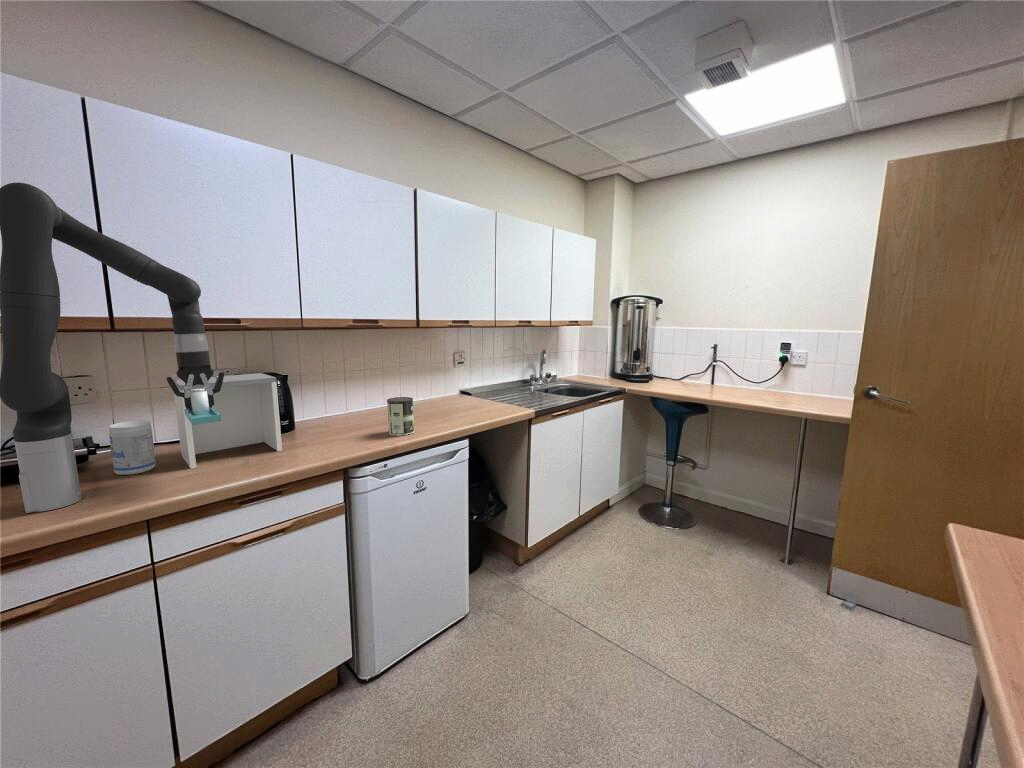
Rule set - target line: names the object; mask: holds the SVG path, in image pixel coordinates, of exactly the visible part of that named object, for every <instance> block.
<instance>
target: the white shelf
mask: <svg viewBox="0 0 1024 768" xmlns="http://www.w3.org/2000/svg"><path fill="white" fill-rule="evenodd" d="M208 382H209V384H210V386H211V389H213V388H214V387H215V383H216V378H215V377H214V376H211V378H210V379H209V381H208ZM277 383H278V382H277V376H276V377H275V376H272V375H269V374H265V373H262V372H259V373H245V374H244V373H243V374H234V375H232V374H231V375H230V374H229V375H224V379H223V382H222V386H221V390H220V392H217V393H215V394H214V395H213V398H214V406H212V407H213V408H214V409H215V410H216V411H217V412H218V413H219V414H220V415H221V421H218V422H212V423H205V424H198V425H192V424H191V423H190V421H189V420H188V418H187V417H186V415H185V411H184V409H186V407H185V402H184V398H183V397H178V396H176V395H175V393H174V392H173V395H174V396H173V397H174V406H175V412H176V420H177V428H178V430H177V431H178V435H179V438H178V439H179V444H180V445H179V446H180V453H181V457H182V458H183V460H184V461H185V463H186V465H188V468H190V469H194V468H195V469H196V468H197V460H196V455H199V454H205V453H210V452H214V451H215V452H216V451H220V450H221V451H222V450H227V449H231V448H232V449H233V448H237V447H243V446H244V447H245V446H250V445H254V444H260V443H265V444H266V445H268V446H269V447H271V448H272V449H274V450H276V451H277V452H280V451H283V442H282V433H281V432H282V431H281V430H282V429H281V420H280V410H279V409H280V407H279V406H280V405H279V396H278V385H277ZM175 384H176V386H177V387H178V389H179V391H180V392H183V393H184V386H185V382H183V381H182V380H181V379H180V378H177V382H176V383H175ZM192 389H204V390H205V388H204V386H203V385H195V386H192ZM249 444H250V445H249Z"/></svg>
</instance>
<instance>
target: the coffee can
mask: <svg viewBox="0 0 1024 768" xmlns="http://www.w3.org/2000/svg"><path fill="white" fill-rule="evenodd" d="M386 402H387V403H386V405H387V419H388V420H387V421H388V422H387V423H388V435H389V436H393V437H394V436H396V437H402V435H405V436H409V435H408V434H410V435H413V434H414V433H415V424H414V423H415V422H414V421H415V420H414V398H413V397H409V396H398V397H395V396H394V397H391V398H387V399H386ZM412 433H413V434H412Z"/></svg>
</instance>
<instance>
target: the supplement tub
mask: <svg viewBox="0 0 1024 768" xmlns="http://www.w3.org/2000/svg"><path fill="white" fill-rule="evenodd" d="M108 429H109V430H108V436H109V443H110V444H109V446H110V452H111V459H112V460H111V461H112V468H113V472H114V473H115V474H116V475H119V476H124V475H125V476H126V475H127V476H128V475H137V474H140V473H141V474H142V473H145V472H148V471H151V470H153V469H154V468H155V467H156V454H155V448H154V447H155V446H154V445H155V444H154V439H153V438H154V436H153V428H152V425H151V421H149V420H128V421H122V422H117V423H113V424H110V425H109V426H108Z"/></svg>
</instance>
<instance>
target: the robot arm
mask: <svg viewBox="0 0 1024 768" xmlns="http://www.w3.org/2000/svg"><path fill="white" fill-rule="evenodd" d="M0 236H1V238H0V239H1V257H0V326H1V327H0V328H1V329H0V330H1V339H2V360H1V361H2V362H1V369H0V400H1V401H2V403H3V404H4V405H5V406H6V407H8V408H9V409H11V410H13V411H16V421H15V425H14V427H13V429H12V437H13V441H14V446H15V448H14V449H15V452H16V457H17V462H18V463H17V464H18V468H19V469H18V470H19V474H18V479H19V485H20V486H19V487H20V489H21V490H20V491H21V496H22V500H23V501H22V502H23V506H24V512H25V514H30V513H37V512H46V511H47V512H48V511H52V510H57V509H60V508H64V507H67V506H70V505H73V504H75V503H78V502H79V501H81V500H82V490H81V487H80V479H79V474H78V467H77V466H78V465H77V462H76V461H77V460H76V455H75V449H74V443H73V436H72V429H71V424H72V421H73V420H72V406H71V397H70V392H69V387H68V384H67V383H66V381H65V380H64V378H62V377H61V375H59V374H58V373H55V372H53V371H52V364H51V352H52V346H53V343H54V340H55V338H56V334H57V332H58V329H59V325H60V321H61V291H60V290H61V289H60V284H59V278H58V272H57V270H56V266H55V262H54V257H53V251H52V250H53V249H52V247H53V245H52V244H53V240H56V241H58V242H60V243H63V244H65V245H68V246H69V247H71V248H74V249H76V250H78V251H79V252H82V253H83V254H85V255H87V256H89V257H92V258H93V259H95V260H97V261H98V262H100V263H102V264H104V265H105V266H107V267H109V268H111V269H113V270H114V271H117V272H119V273H120V274H122V275H124V276H125V277H128V278H130V279H132V280H134V281H136V282H138V283H140V284H142V285H145V286H149V287H151V288H152V289H153V288H154V289H155V290H157V291H158V292H161V293H163V294H164V295H167V301H168V305H169V308H170V312H171V322H172V329H173V337H174V338H173V339H174V340H173V343H174V352H175V358H176V363H177V364H176V365H177V371H176V373H175V374H173V375H169V376H168V375H167V376H165V380H166V382H167V384H168V385H169V387H170V389H171V391H172V392H173V394H174V393H175V395H176V396H178V397H183V398H184V402H185V407H186V409H189V411H191V410H192V404H191V398H190V392H191V389H192V386H195V385H203V386H204V388H205V390H206V391H207V395H208V403H209V408H212V406H214V398H213V395H214V394H215V393H217V392H220V390H221V386H222V382H223V379H224V376H225V372H222V371H214V369H213V368H212V366H211V365H212V364H211V357H210V353H209V352H210V350H209V343H208V339H207V337H206V336H207V335H206V331H205V330H206V329H205V323H204V319H203V318H204V317H203V316H202V314H201V309H200V302H199V298H200V297H201V295H202V290H201V287H200V285H199V284H198V282H196V281H195V280H193V278H191V277H188V276H186V275H185V274H183V273H181V272H179V271H177V270H174V269H171V268H169V267H168V266H165V265H163V264H162V263H160V262H158V261H156V260H155V259H152V258H151V257H150V256H148V255H146V254H144V253H142V252H140V250H137V249H135V248H133V247H131V246H130V245H127V244H125V243H124V242H121V241H118V240H116V239H115V238H112V237H111V236H110V237H109V236H108V235H105V234H103V233H101V232H99V231H97V230H95V229H93V228H91V227H89V226H88V225H86V224H84V223H83V222H81V221H79V220H78V219H76V218H75V217H74V216H72V215H70V214H69V213H68V212H66V211H65V210H63V209H62V208H60V207H59V206H58V205H57V204H56V202H55V201H54V200H53V199H52V197H51V196H50V195H49V194H48V193H46V192H45V191H43V190H42V189H40V188H39V187H36V186H34V185H32V184H28V183H25V182H10V183H7V184H4V185H2V186H1V187H0ZM211 377H215V378H216V383H215V387H214V388H213V389H211V386H210V384H209V382H208V381H209V379H210V378H211ZM178 379H181V380H182V381H183V382H185V386H184V393H183V392H180V391H179V389H178V387H177V386H176V384H175V383H176V382H177V380H178Z"/></svg>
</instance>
